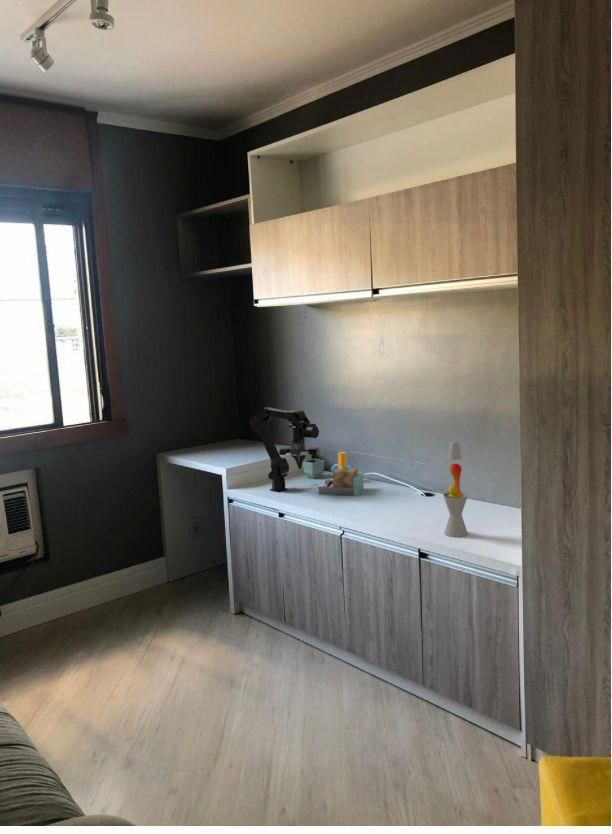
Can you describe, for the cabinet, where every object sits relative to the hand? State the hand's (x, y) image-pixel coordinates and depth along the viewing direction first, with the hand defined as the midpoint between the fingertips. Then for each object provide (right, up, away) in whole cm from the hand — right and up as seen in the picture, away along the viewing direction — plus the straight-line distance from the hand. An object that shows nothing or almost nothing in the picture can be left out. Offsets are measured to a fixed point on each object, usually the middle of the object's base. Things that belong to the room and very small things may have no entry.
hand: (300, 468), depth 320 cm
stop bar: (+28, -11, -1) cm, 30 cm away
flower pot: (+7, -7, +34) cm, 36 cm away
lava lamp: (+59, -19, -69) cm, 93 cm away
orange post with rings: (+22, -8, +22) cm, 32 cm away
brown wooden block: (+22, -8, 0) cm, 23 cm away
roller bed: (+19, -11, +2) cm, 22 cm away
